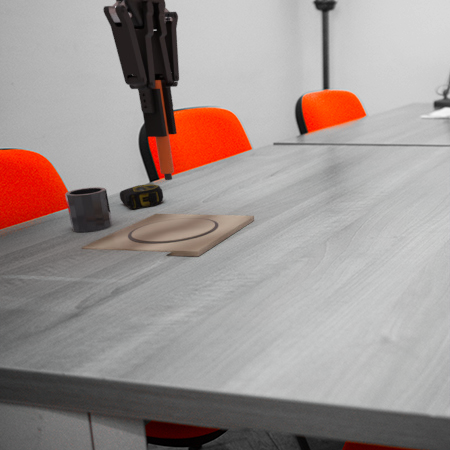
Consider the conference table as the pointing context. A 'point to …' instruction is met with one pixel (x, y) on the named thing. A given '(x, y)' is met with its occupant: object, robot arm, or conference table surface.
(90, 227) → the pen pot
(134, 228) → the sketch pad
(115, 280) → the conference table surface
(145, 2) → the robot arm
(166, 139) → the marker pen
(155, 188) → the tape measure
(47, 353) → the conference table surface
